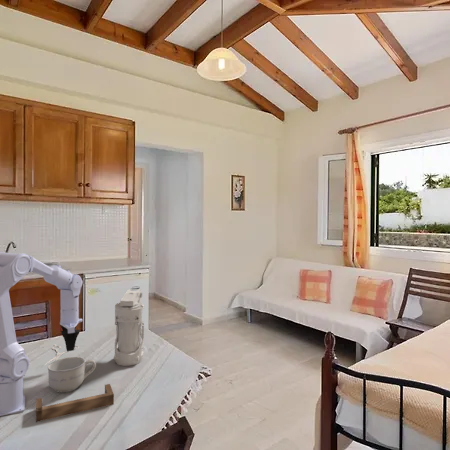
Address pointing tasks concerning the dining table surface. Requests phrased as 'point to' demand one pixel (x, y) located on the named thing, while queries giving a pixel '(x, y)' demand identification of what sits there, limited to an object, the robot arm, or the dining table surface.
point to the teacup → (68, 373)
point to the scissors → (58, 353)
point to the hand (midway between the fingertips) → (69, 346)
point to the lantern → (129, 329)
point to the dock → (74, 405)
